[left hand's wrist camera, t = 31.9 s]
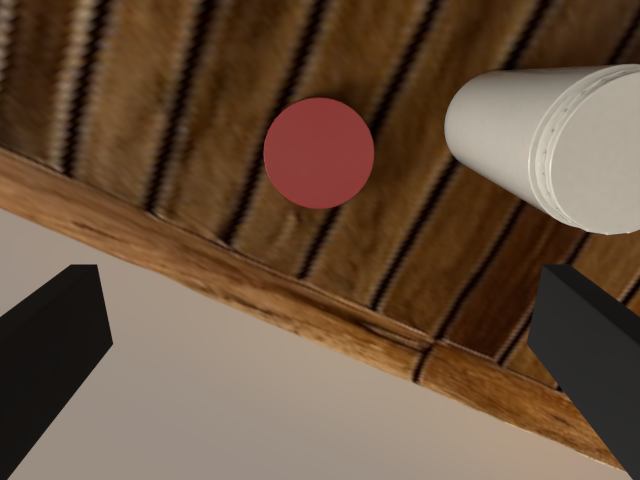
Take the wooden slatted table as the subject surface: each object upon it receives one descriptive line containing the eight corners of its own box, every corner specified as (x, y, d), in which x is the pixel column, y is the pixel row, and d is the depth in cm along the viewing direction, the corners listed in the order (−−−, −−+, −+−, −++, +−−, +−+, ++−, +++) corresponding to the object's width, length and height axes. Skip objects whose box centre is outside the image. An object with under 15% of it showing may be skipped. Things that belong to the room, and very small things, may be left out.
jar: (426, 111, 40) (513, 137, 22) (514, 48, 38) (689, 20, 20) (473, 188, 42) (585, 269, 24) (558, 133, 40) (747, 176, 22)
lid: (388, 118, 40) (392, 120, 38) (350, 217, 43) (351, 223, 41) (284, 79, 39) (282, 79, 37) (253, 184, 42) (250, 189, 40)
